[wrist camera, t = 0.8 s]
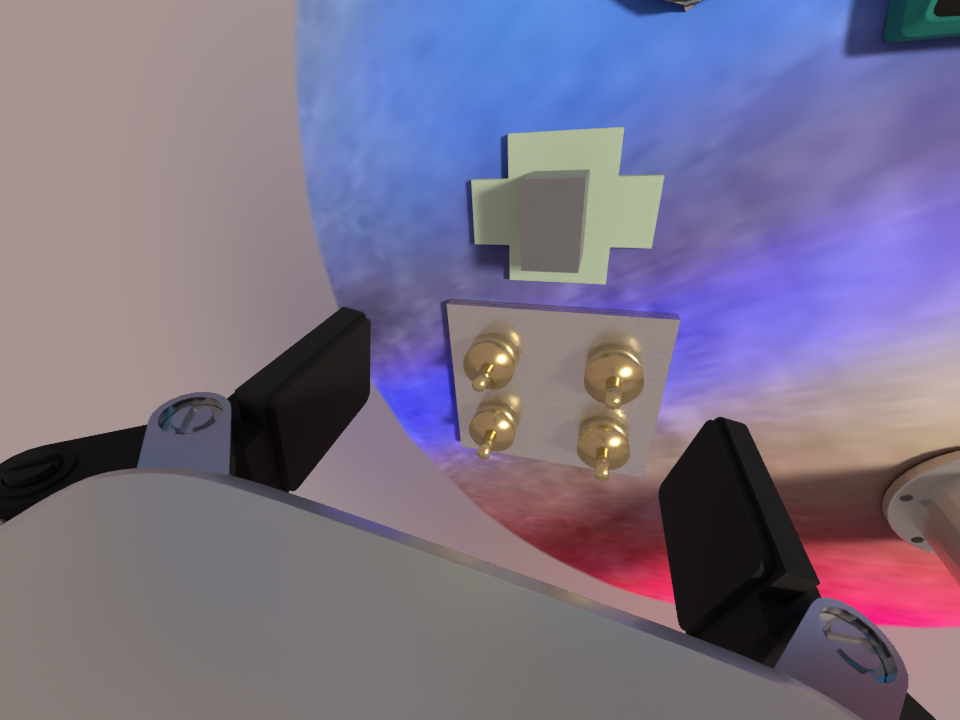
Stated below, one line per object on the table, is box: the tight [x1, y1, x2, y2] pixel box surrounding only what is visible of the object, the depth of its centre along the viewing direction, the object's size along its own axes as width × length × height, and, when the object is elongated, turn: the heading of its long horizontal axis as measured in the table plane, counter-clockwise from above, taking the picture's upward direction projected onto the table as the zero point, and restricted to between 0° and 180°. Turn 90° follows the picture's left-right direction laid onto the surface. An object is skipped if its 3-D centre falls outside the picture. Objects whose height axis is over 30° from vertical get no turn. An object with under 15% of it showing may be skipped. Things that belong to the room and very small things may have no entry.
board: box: [471, 127, 664, 284], centre depth 28 cm, size 14×11×6 cm
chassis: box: [447, 299, 680, 481], centre depth 36 cm, size 20×18×7 cm
